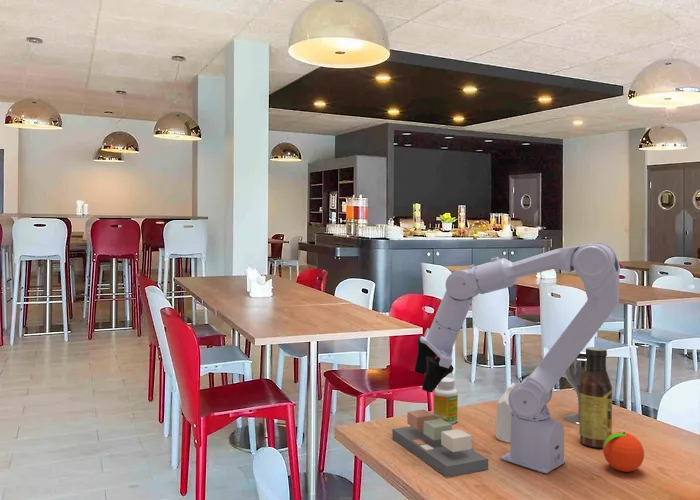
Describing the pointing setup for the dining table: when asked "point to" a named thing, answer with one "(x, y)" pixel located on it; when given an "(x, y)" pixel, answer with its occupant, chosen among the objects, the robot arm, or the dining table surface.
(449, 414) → the supplement bottle
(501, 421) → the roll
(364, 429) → the dining table surface
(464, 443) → the cream key
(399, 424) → the dining table surface
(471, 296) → the robot arm
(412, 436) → the grey key panel base
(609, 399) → the sauce bottle
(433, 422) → the sage key
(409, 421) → the terracotta key
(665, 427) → the dining table surface
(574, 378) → the wine glass
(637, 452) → the clementine
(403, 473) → the dining table surface
